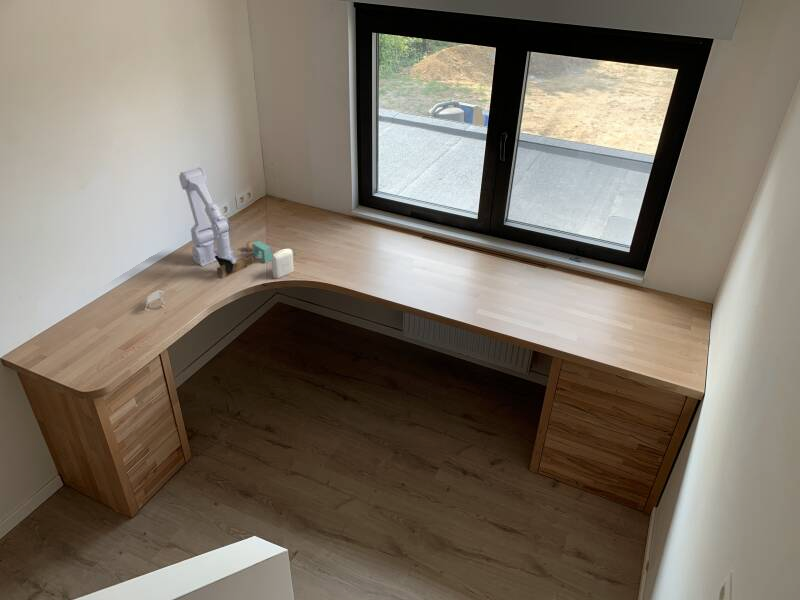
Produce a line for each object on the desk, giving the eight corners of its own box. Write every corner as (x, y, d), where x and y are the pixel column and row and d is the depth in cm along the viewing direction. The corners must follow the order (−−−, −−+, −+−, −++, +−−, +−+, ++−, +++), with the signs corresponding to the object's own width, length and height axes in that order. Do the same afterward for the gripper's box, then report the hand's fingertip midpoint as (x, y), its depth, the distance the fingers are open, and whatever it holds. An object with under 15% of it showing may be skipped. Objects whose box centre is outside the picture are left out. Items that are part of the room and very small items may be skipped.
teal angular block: (265, 263, 291) (263, 250, 287) (253, 256, 295) (252, 243, 291) (272, 260, 293) (270, 247, 289) (260, 253, 298) (258, 240, 294)
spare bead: (250, 253, 298) (249, 246, 296) (245, 250, 300) (244, 243, 298) (258, 250, 300) (257, 243, 298) (252, 247, 303) (251, 240, 301)
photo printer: (289, 268, 288) (288, 245, 281) (295, 271, 285) (293, 248, 278) (271, 276, 281) (269, 252, 274) (277, 279, 279) (275, 256, 272)
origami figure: (164, 312, 255) (162, 303, 252) (143, 313, 254) (141, 303, 251) (170, 296, 265) (168, 287, 262) (150, 297, 264) (148, 287, 261)
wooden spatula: (221, 278, 278) (220, 270, 276) (217, 275, 280) (216, 268, 278) (254, 264, 290) (253, 256, 287) (250, 261, 291) (249, 254, 289)
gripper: (240, 247, 272) (243, 273, 279) (221, 236, 280) (224, 262, 287) (227, 253, 267) (230, 279, 275) (207, 241, 275) (211, 267, 283)
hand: (226, 271), depth 281 cm, fingers open, 4 cm apart
